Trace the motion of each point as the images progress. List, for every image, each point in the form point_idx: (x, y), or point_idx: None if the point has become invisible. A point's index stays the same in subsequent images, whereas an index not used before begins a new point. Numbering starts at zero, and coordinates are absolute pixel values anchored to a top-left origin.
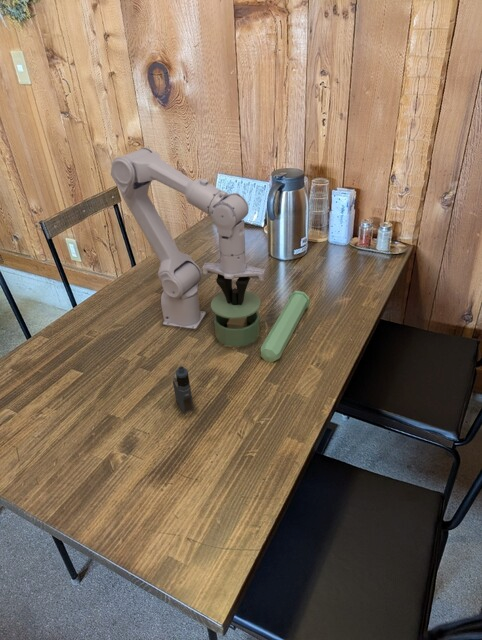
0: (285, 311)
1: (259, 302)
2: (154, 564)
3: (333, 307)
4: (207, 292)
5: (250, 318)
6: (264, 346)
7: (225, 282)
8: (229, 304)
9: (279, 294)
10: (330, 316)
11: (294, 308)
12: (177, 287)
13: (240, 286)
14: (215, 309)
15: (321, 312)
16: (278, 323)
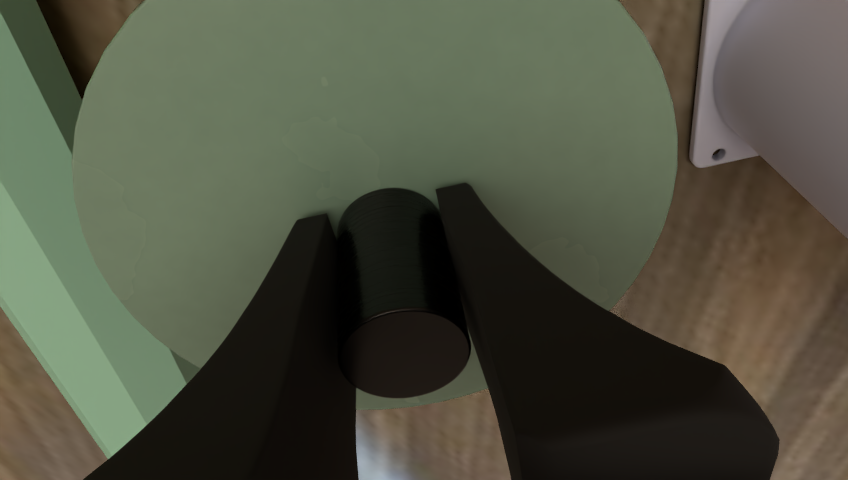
0: (102, 353)
1: (162, 334)
2: None
3: (51, 471)
4: (740, 320)
5: None
6: None
7: (518, 448)
8: (440, 177)
9: (358, 444)
10: (2, 422)
11: (76, 398)
12: None
13: (163, 469)
14: (563, 5)
15: (69, 427)
16: (26, 226)
